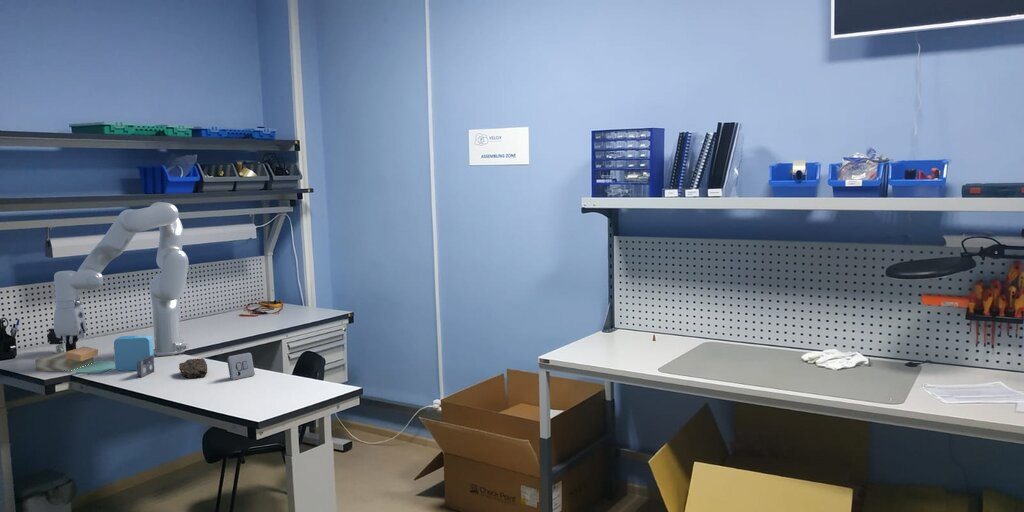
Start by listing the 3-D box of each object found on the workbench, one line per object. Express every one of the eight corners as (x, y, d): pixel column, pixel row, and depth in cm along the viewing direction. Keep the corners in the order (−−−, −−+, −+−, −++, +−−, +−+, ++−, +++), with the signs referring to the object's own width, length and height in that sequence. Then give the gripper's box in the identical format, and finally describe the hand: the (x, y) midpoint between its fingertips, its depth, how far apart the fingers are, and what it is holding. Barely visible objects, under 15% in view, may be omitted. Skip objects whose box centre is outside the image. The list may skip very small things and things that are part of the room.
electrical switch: (232, 380, 251) (230, 356, 251) (226, 379, 255) (224, 356, 254) (255, 376, 258) (253, 352, 257) (249, 374, 261) (247, 351, 260)
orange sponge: (97, 355, 274) (98, 349, 273) (80, 361, 265) (81, 355, 264) (82, 352, 274) (83, 346, 274) (65, 358, 265) (65, 351, 265)
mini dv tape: (150, 371, 264) (149, 355, 263) (154, 371, 264) (153, 355, 263) (137, 378, 256) (136, 361, 255) (141, 378, 255) (140, 361, 255)
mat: (127, 363, 276) (126, 362, 276) (99, 373, 261) (99, 372, 261) (97, 362, 278) (97, 361, 278) (69, 372, 263) (69, 371, 263)
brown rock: (181, 371, 264) (181, 358, 263) (211, 370, 266) (210, 356, 266) (174, 380, 253) (174, 366, 252) (206, 378, 255) (205, 364, 254)
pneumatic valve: (76, 349, 298) (74, 320, 297) (60, 356, 287) (58, 326, 285) (62, 350, 298) (60, 321, 297) (46, 357, 286) (43, 326, 285)
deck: (93, 363, 276) (93, 352, 276) (70, 371, 264) (70, 360, 264) (60, 362, 278) (59, 351, 278) (35, 370, 266) (35, 359, 266)
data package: (154, 366, 271) (152, 334, 270) (150, 369, 266) (149, 337, 265) (119, 368, 269) (117, 336, 267) (115, 371, 264) (113, 338, 263)
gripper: (93, 303, 271) (96, 351, 273) (57, 302, 273) (60, 350, 275) (79, 306, 264) (82, 356, 266) (41, 305, 266) (45, 355, 268)
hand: (71, 353), depth 270 cm, fingers closed
